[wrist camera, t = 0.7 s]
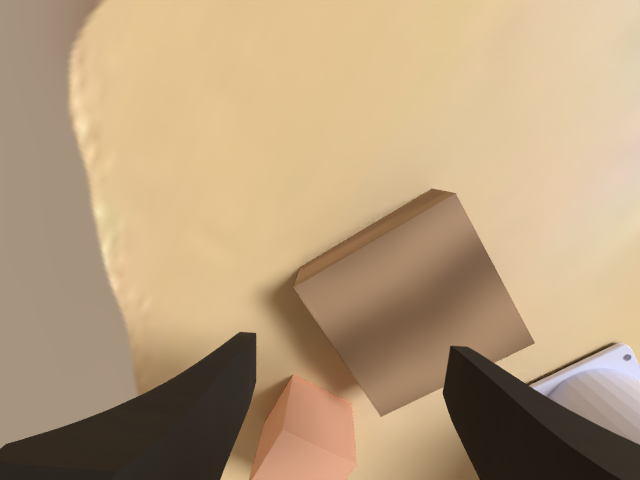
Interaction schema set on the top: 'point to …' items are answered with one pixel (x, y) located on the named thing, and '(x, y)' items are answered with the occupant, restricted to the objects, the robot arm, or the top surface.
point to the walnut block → (411, 300)
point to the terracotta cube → (306, 436)
